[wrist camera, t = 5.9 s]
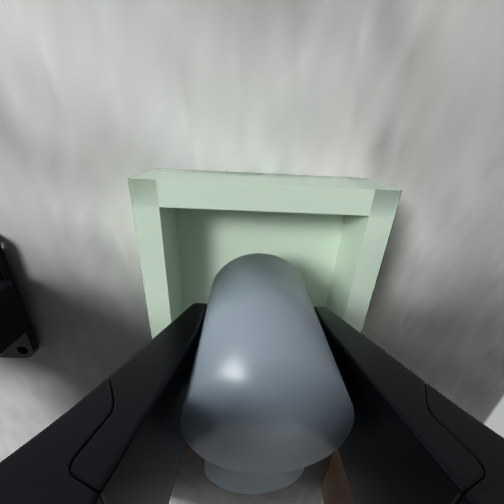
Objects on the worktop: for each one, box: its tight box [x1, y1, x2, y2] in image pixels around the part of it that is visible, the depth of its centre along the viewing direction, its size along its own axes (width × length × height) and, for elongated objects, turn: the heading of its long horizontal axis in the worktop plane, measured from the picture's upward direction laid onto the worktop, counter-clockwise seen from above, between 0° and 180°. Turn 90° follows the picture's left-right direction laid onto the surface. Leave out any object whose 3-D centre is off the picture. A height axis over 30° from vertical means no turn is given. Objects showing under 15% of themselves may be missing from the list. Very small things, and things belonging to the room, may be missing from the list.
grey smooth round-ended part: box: [204, 460, 304, 494], centre depth 11 cm, size 3×3×4 cm
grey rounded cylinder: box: [180, 253, 354, 474], centre depth 7 cm, size 3×3×4 cm
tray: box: [128, 169, 402, 339], centre depth 11 cm, size 8×12×3 cm, turn 177°
